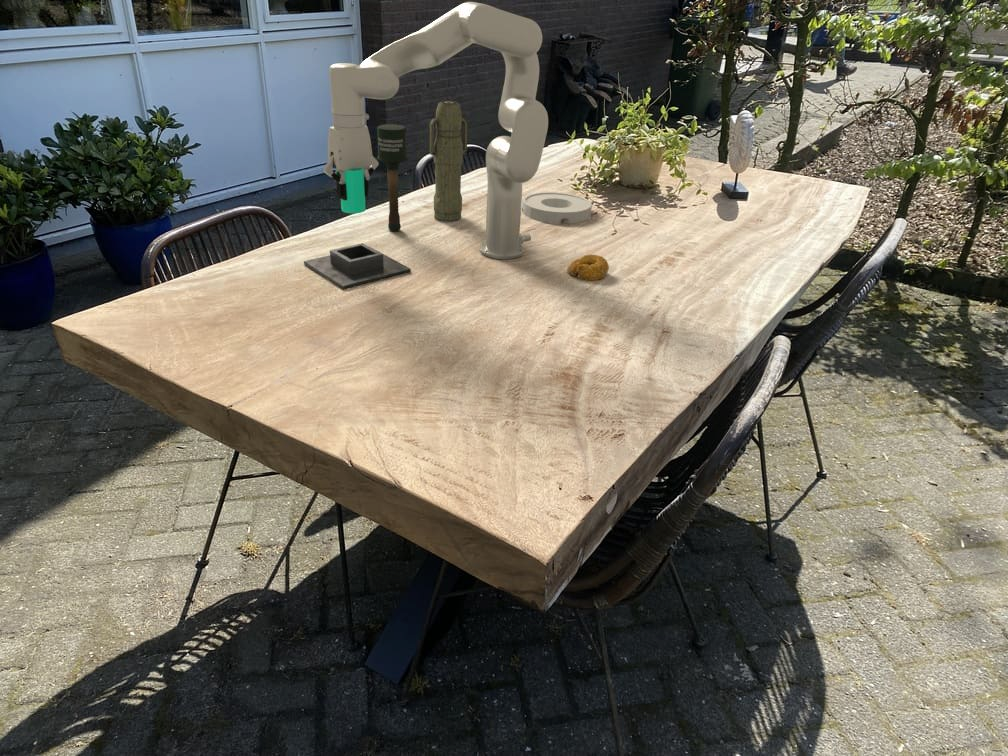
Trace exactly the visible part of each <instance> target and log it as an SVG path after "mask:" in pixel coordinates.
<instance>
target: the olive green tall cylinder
mask: <svg viewBox="0 0 1008 756" xmlns="http://www.w3.org/2000/svg"><path fill="white" fill-rule="evenodd" d="M435 111H436V112H435V117H434V118H431V119H430V122H429V124H428V125H429V128H428V129H429V131H428V132H429V135H428V136H429V137H428V138H429V140H428V141H429V155H431V156H433V162H434V165H435V167H434V169H435V175H434V176H435V177H434V178H435V185H434V186H435V187H434V189H435V191H434V192H435V193H434V196H433V210H434V211H433V212H434V215H433V218H434V220H436V221H438V222H443V223H444V222H445V223H456V222H458V221H460V220H462V210H463V196H462V193H461V185H462V184H461V183H462V180H461V179H462V176H461V175H462V164H463V160H464V154H465V153H466V152H467V151H468V122H467V120H466V119H465V118H463V117H462V109H461V105H460V103H459V102H457V101H455V100H441V101H440V102H438V104H437V107H436V110H435ZM435 130H436V133H435Z"/></svg>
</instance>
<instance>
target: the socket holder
mask: <svg viewBox="0 0 1008 756" xmlns="http://www.w3.org/2000/svg"><path fill="white" fill-rule="evenodd" d="M303 265H304V266H306V267H307V268H308V269H310V270H312V271H313V272H315V273H317V275H319V276H321V277H323V278H324V279H326V280H327V281H329V282H331V283H332V284H334V285H335V286H336V287H338V288H340V289H341V290H343V291H344V290H349V289H352V288H356V287H358V286H359V287H360V286H364V285H367V284H371V283H376V282H379V281H383V280H387V279H390V278H394V277H397V276H402V275H406V274H410V273H411V272H412V268H410V267H408V266H406V265H404V264H402V263H401V262H399V261H397V260H395V259H394V258H392V257H390V256H388V255H386V254H385V253H382V252H380V251H379V250H376V249H374V248H373V247H371V246H369V245H367V244H365V243H363V242H361V243H358V244H353V245H349V246H344V247H340V248H334V249H330V250H329V255H326V256H322V257H316V258H311V259H307V260H304V261H303Z"/></svg>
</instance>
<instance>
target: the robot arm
mask: <svg viewBox="0 0 1008 756" xmlns="http://www.w3.org/2000/svg"><path fill="white" fill-rule="evenodd" d="M472 44H476V45H480V46H483V47H485V48H488V49H491V50H494V51H497V52H500V54H501V55H502V57H503V59H504V64H505V74H504V75H505V77H504V84H503V88H502V93H501V97H500V98H501V99H500V102H499V109H498V113H497V114H498V115H497V116H498V117H497V119H498V122H499V124H500V126H501V127H502V128H503V129H505V130H506V131H507V132H509V133H511V134H510V136H509V135H501V136H497V137H495V138H494V139H492V140H491V141H490V143H489V144H488V146H487V148H486V152H485V166H486V167H485V168H486V173H487V174H486V177H487V197H486V214H485V215H486V217H485V242H483V243H482V244H481V245H480V246H479V252H480V253H481V255H484V256H485V257H487V258H491V259H497V260H510V259H511V260H513V259H516V258H519V257H520V258H521V256H523V255H524V253H525V248H524V247H523V246H522V244H524V243H525V242H530V241H532V235H531V234H529V233H528V234H527V233H526V234H524V235H522V233H521V232H520V231H521V216H522V215H521V214H522V199H523V183H527V182H528V181H530V180H532V179H533V177H534V176H535V175H536V174H537V172H538V171H539V170H538V169H539V166H540V164H541V159H542V155H543V152H544V151H543V150H544V146H545V142H546V138H547V134H548V129H549V115H548V111H547V110H546V108H545V106H544V105H543V104H542V103H541V102H540V101H538V100H536V96H537V92H538V84H539V80H540V62H539V57H538V54H537V52H539V50H540V48H541V47H542V44H543V33H542V30H541V27H540V26H539V25H538V23H537V22H536V21H534V20H533V19H531V18H528V17H525V16H522V15H518V14H514V13H512V12H509V11H506V10H502V9H500V8H497V7H494V6H492V5H488V4H486V3H480V2H476V1H475V2H474V1H466V2H463V3H460V4H459V5H458V6H456V7H454V8H453V9H450V10H449V11H448V12H446V13H445V14H443V15H441V16H440V17H439V18H437V19H435V20H434V21H432V22H431V23H430V24H428V25H426V26H424V27H422V28H421V29H419V30H418V31H416V32H413V33H411V34H408V35H407V36H405V37H403V38H401V39H398V40H396V41H394V42H392V43H390V44H388V45H386V46H384V47H383V48H381V49H380V50H378V51H377V52H375V53H373V54H372V55H371V56H369V57H368V58H366V59H365V60H363V61H362V62H361V63H360V64H355V63H348V62H345V63H344V62H341V63H339V62H338V63H334V64H331V65H330V67H329V71H328V74H329V87H330V88H329V89H330V100H331V101H330V102H331V103H330V104H331V115H332V116H331V117H332V118H331V119H332V125H331V126H329V129H328V137H327V162H326V164H325V165H324V167H323V169H322V171H323V173H324V174H326V175H327V176H328V177H330V178H331V179H332V180H333V181H334V182H336V194H337V196H338V198H339V199H340V200H341V199H343V200H347V192H346V184H344V181H345V172H346V171H347V170H352V171H353V170H359V169H364V189H365V198H366V197H369V181H370V179H371V176H372V174H373V173H374V171H376V169H377V167H379V164H380V163H379V161H378V159H377V158H376V157H374V155H373V149H372V141H371V136H370V132H369V131H370V130H369V128H368V126H367V125H366V124H367V123H366V121H367V120H369V119H370V114H368V113H366V112H365V111H366V110H365V99H366V98H367V99H373V100H382V101H383V100H388V99H391V98H393V97H394V96H395V95H396V94H397V93H398V91H399V88H400V79H399V78H400V77H401V76H403V75H406V74H408V73H410V72H413V71H416V70H422V69H430V68H435V67H437V66H440V65H441V64H444V62H445V61H447V60H448V59H450V58H452V57H453V56H455V55H457V54H458V53H459V52H462V51H463V50H464V49H466V48H467V47H469V46H471V45H472ZM333 169H335V172H334V171H333ZM339 172H340V175H339Z"/></svg>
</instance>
